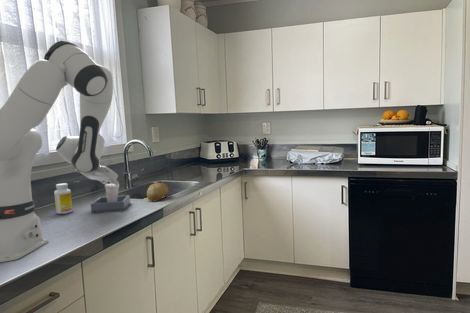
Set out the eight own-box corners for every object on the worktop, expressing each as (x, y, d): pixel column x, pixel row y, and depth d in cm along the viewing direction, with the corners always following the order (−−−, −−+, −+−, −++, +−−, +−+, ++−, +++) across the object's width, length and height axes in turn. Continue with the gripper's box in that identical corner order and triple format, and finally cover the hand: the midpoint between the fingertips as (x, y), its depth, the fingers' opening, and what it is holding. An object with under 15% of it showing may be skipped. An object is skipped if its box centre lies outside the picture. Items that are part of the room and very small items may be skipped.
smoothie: (105, 204, 161) (104, 174, 160) (119, 203, 164) (119, 174, 162) (104, 207, 155) (104, 177, 154) (119, 207, 158) (119, 176, 156)
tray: (124, 210, 154) (123, 201, 153) (91, 213, 152) (90, 204, 152) (130, 203, 167) (129, 195, 167) (100, 205, 166) (99, 197, 165)
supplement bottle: (76, 210, 158) (73, 182, 156) (65, 214, 151) (62, 185, 150) (63, 210, 160) (61, 182, 158) (52, 214, 153) (49, 185, 152)
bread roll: (172, 195, 182) (171, 180, 182) (162, 202, 168) (161, 185, 167) (154, 195, 184) (153, 180, 183) (143, 202, 169) (142, 186, 168)
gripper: (106, 160, 146) (129, 179, 154) (82, 159, 158) (103, 176, 167) (98, 172, 143) (121, 191, 151) (73, 170, 155) (96, 187, 164)
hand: (111, 183), depth 159 cm, fingers open, 8 cm apart
